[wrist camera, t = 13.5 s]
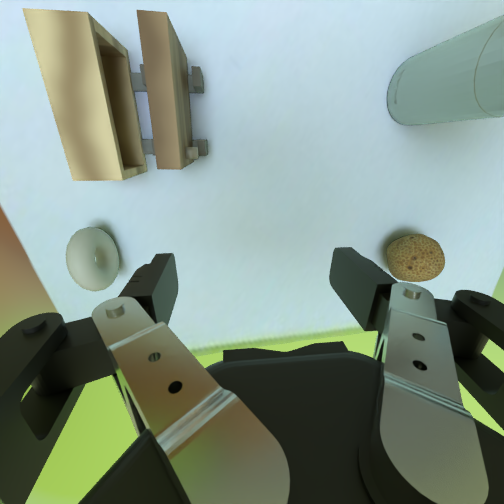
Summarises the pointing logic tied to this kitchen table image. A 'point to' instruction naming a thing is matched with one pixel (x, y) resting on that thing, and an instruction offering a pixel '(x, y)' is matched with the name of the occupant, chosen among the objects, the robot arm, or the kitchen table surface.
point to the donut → (92, 259)
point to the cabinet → (94, 95)
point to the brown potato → (415, 258)
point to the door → (166, 90)
